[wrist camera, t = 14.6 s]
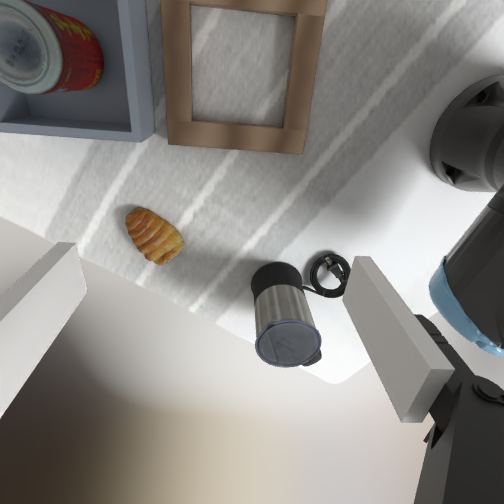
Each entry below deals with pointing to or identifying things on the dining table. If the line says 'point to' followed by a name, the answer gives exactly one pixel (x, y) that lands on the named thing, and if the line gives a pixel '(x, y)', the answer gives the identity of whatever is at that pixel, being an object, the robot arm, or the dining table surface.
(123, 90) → the bin
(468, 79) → the dining table surface
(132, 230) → the pastry
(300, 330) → the milk frother
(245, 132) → the collar block
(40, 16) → the soda can
